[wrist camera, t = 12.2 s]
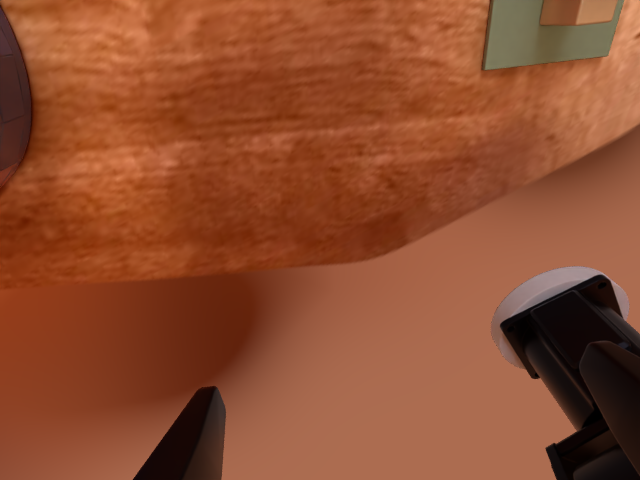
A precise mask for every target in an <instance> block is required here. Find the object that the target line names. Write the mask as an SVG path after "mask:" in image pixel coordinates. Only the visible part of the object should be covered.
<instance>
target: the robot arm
mask: <svg viewBox="0 0 640 480" xmlns="http://www.w3.org/2000/svg"><path fill="white" fill-rule="evenodd" d="M500 329H501V330H502V332H503V334H504V335H505V337H506V338H507V340H508V341H509V343H510V345H511V346H512V348H513V349H514V351H515V353H516V354H517V356H518V357H519V359H520V361H521V362H522V364H523V365H524V367H525V369H526V370H527V372H528V373H529V375H530V376H531V378H533V379H538V378H541V379H542V381H543V382H544V384H545V385H546V387H547V388H548V390H549V391H550V392H551V394H552V395H553V397H554V398H555V399H556V401H557V403H558V404H559V406H560V407H561V408H562V410H563V411H564V413H565V414H566V416H567V417H568V419H569V420H570V422H571V423H572V425H573V426H574V427H575V429H576V430H577V432H575V433H574V434H572V435H570V436H569V437H567V438H565V439H564V440H562V441H560V442H559V443H557V444H555V443H553V444H551V445H550V446H548V447H546V451H547V454H548V457H549V459H550V462H551V466H552V469H553V471H554V474H555V476H556V479H557V480H640V334H639V333H638V332H637V331H636V330H635V329H634V328H633V327H631V326H630V325H629V324H628V323H627V322H626V321H625V320H624V319H623V316H622V313H621V310H620V307H619V304H618V301H617V298H616V295H615V292H614V289H613V286H612V284H611V281H610V280H609V279H608V278H607V277H606V276H605V275H602V274H600V275H596V276H593V277H591V278H589V279H587V280H585V281H583V282H581V283H579V284H577V285H575V286H573V287H571V288H569V289H567V290H565V291H563V292H561V293H559V294H557V295H555V296H553V297H551V298H549V299H546V300H544V301H542V302H540V303H538V304H536V305H534V306H532V307H530V308H528V309H526V310H524V311H522V312H520V313H518V314H516V315H514V316H512V317H510V318H508V319H506V320H504V321H502V322H501V324H500ZM225 418H226V410H225V405H224V403H223V400H222V398H221V395H220V392H219V390H218V388H217V387H216V386H210V387H202V388H200V389H198V390H197V392H196V393H195V394H194V396H193V397H192V398H191V400H190V401H189V403H188V404H187V405H186V407H185V408H184V409H183V411H182V412H181V414H180V415H179V416H178V418H177V419H176V420H175V422H174V423H173V425H172V426H171V427H170V429H169V430H168V432H167V433H166V434H165V436H164V437H163V439H162V440H161V441H160V443H159V444H158V446H157V447H156V448H155V450H154V451H153V452H152V454H151V455H150V457H149V458H148V459H147V461H146V462H145V464H144V465H143V466H142V468H141V469H140V470H139V472H138V473H137V475H136V476H135V477H134V479H133V480H221V477H222V464H223V448H224V434H225Z"/></svg>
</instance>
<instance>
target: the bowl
mask: <svg viewBox="0 0 640 480" xmlns="http://www.w3.org/2000/svg"><path fill="white" fill-rule="evenodd" d="M30 127H31V96H30V90H29V84H28V78H27V73H26V69H25V66H24V63H23V59H22V56H21V52H20V49H19V46H18V44H17V42H16V39H15V37H14V34H13V32H12V30H11V27H10V25H9V22H8V20H7V18H6V16H5V14H4V13H3V11H2V9H1V7H0V187H2V186H3V185H4V184H5V183H6V182H7V181H8V179H9V178H10V177H11V176H12V175H13V174H14V172H15V171H16V169H17V167H18V166H19V164H20V162H21V160H22V158H23V156H24V153H25V150H26V147H27V144H28V141H29V135H30Z"/></svg>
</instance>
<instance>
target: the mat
mask: <svg viewBox="0 0 640 480" xmlns="http://www.w3.org/2000/svg"><path fill="white" fill-rule="evenodd" d="M543 2H544V0H491V2H490V10H489V18H488V26H487V34H486V42H485V50H484V57H483V65H482V70H492V69H501V68H510V67H518V66H527V65H536V64H544V63H553V62H562V61H570V60H579V59H588V58H596V57H605V56H608V54H609V51H610V47H611V44H612V40H613V37H614V33H615V30H616V26H617V23H618V19H619V16H620V13H621V9H622V6H623V2H624V0H618V2H617V5H616V9H615V12H614V16H613V19H612V21H610V22H606V23H597V24H588V25H580V26H559V25H540V18H541V13H542V8H543Z"/></svg>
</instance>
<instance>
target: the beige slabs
mask: <svg viewBox="0 0 640 480" xmlns="http://www.w3.org/2000/svg"><path fill="white" fill-rule="evenodd" d="M617 2H618V0H544V2H543V8H542V13H541V18H540V25H559V26H580V25H588V24H597V23H606V22H610V21H612V19H613V16H614V12H615V9H616V5H617Z"/></svg>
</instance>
